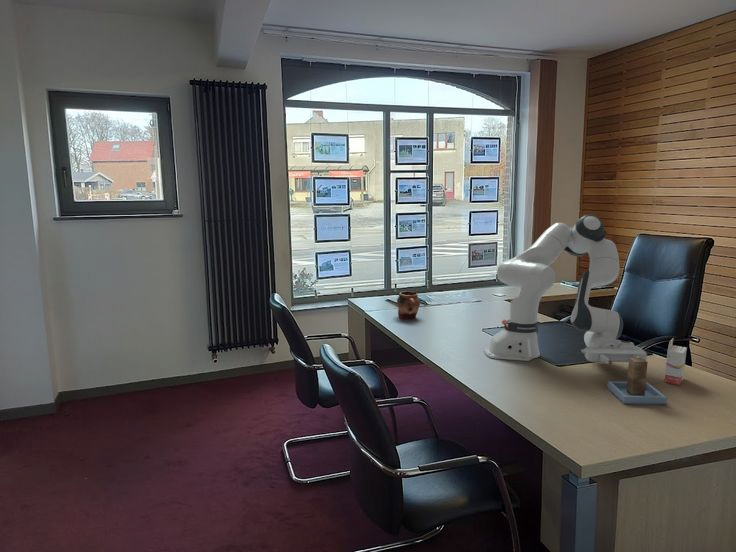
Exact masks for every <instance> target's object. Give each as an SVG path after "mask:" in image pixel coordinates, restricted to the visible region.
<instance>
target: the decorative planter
mask: <svg viewBox="0 0 736 552" xmlns="http://www.w3.org/2000/svg"><path fill="white" fill-rule="evenodd" d="M396 305H397V308H398V310H397V311H398V312H397V313H398V314H397V316H398V317H399V319H400V320H412V319H416V317H417V314H418V312H419V308H420V306H421V301H420V299H419V294H418V293H417V292H416V291H408V290H406V291H401V292H399V294H398V297H397V299H396Z"/></svg>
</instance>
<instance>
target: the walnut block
mask: <svg viewBox="0 0 736 552" xmlns="http://www.w3.org/2000/svg"><path fill="white" fill-rule="evenodd" d="M647 373H648V361H647V359H646V360H644V359H643V358H629V362H628V369H627V381H626V382H627V393H628V394H629V395H630V396H645V387H646V382H647Z"/></svg>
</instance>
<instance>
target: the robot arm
mask: <svg viewBox="0 0 736 552" xmlns="http://www.w3.org/2000/svg"><path fill="white" fill-rule="evenodd" d="M604 227H605V226H604V224H603V222H602V220H601V219H600V218H599V217H598V216H597V215H594V214H585V215H583V216H581V217H580V218H579V219H577V221H576V222H575V224H574V225H573V226H569V225H567V224H566V223H564V222H555V223H553V224H552V225H550V226H549V227H548V228H546V229H545V230H544V231H543V232H542V234H540V236H539V237H538V238H537V239H536V240H535V242H534V243H533V244H532V245H531V246H530V247H528V248H527V249H526V250H525V251H523V252H521V253H519V254H518V255H516V256H515V257H512V258H510V259H506V260H503V261H502V262H501V263H499V265H498V266H497V271H496V275H497V278H498V280H499V282H501V283H503V284H504V285H507V286H510V287H514V288H515V287H516V288H520V293H519V294H518V296H517V297H514V298H513V299H512V300H511V301H510V303H509V319H508V320H506V319H502V320H501V323H502V325H503V327H504V328H503V329H502V330H500V331H498V332H497V333H496V334H494V335H493V336H491V338H490V342H489V345H488V346H485V347H484V350H483V352H484V355H485V356H486V357H488V358H491V359H496V360H509V361H521V362H522V361H525V362H530V361H531V360H533V359H537V358H538V357H539V358H540V356H541V354H540V349H539V343H538V341H539V340H538V334H539V321H538V315H539V314H538V313H539V305H540V301H541V299H542V297H543V295H544V294H545V293H546V292H547V291H548V290H550V289H551V288H552V287H553V286H554V285H555V283H556V272H555V270H554V269H553V267H551V265H552V264H553V263H554V262H555V261H556V260H557V259H558V257H559V256H560V255H561V254H562V253H563V251H565V252H567V254H568V255H569V254H570V255H571V256H574V257H579V258H580V257H584V256H585V255H587V254H588V257H589V267H588V270H585V271H584V272H583V273H582V275H581V276H580V280H579V283H578V287H577V292H576V296H575V302H574V305H573V309H572V312H571V315H570V323H571V325H572V326H573V327H574V329H575V330H577V331H582V332H585V333H584V335H583V338H584V339H583V340H584V343H585V346H586V347H585V348H582V349H581V350H580V352H581V353H582V354H584V357H585V359H586V361H588V362H592V363H595V362H596V363H605V364H607V365H612V364H613V363H629V358H643V359H644V360H646V361H647V359H648V354H647V352H646V351H645V350H643V349H642V348H641V347H639V346H637V345H635V344H634V342H632V341H628V340H627V341H626V340H621V339H619V338H620V337H621V334H622V332H623V330H624V321H623V318H622V316H621V314H620V313H619V312H618V311H616V310H610V309H606V308H600V307H595V306H592V305H590V303H589V300H590V299H589V298H590V294H591V289H593V288H595V287H604V286H608V285H610V284H612V283H614V281H616V280H617V279H618V277H619V275H620V257H619V253H618V249H617V245H616V243H615V242H613V240H610V239H606V236H607V231H606V230H605V228H604Z"/></svg>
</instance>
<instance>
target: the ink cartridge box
mask: <svg viewBox="0 0 736 552" xmlns="http://www.w3.org/2000/svg"><path fill="white" fill-rule="evenodd" d="M674 339H675V338H674V337H673V338H671V339H670V341H669V343H668V348H667V353H666V363H665V364H666V365H665V373H664V375H665V376H664V377H665V378H664V383H668V384H672V385H677V386H680V385H681V383H682V382H683V380H684V375H685V365H686V357H687V350H688V347H686V346H679V345H674V344H673V343H674Z"/></svg>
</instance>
